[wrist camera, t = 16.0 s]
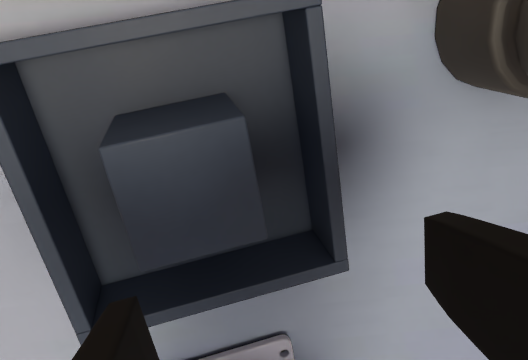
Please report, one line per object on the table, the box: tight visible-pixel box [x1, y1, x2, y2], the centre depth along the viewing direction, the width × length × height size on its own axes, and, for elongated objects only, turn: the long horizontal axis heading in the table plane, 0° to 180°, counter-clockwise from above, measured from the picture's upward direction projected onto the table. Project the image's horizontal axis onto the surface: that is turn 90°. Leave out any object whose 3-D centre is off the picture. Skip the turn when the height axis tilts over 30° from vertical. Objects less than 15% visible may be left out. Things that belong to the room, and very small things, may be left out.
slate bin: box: [0, 0, 349, 345], centre depth 16 cm, size 11×11×4 cm
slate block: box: [98, 93, 268, 272], centre depth 15 cm, size 4×4×4 cm
